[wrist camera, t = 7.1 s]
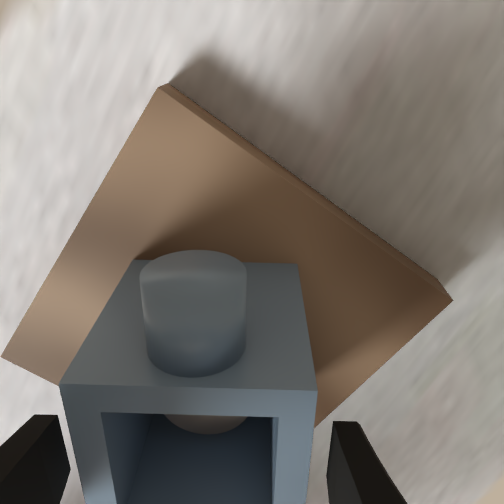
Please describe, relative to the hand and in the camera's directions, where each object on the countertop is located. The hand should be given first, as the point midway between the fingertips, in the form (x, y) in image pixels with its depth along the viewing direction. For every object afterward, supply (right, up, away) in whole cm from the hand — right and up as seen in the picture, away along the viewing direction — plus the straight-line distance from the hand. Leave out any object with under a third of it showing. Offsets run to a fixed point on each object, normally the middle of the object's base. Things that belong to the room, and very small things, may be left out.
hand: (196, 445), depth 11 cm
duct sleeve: (0, +2, +5) cm, 5 cm away
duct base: (0, +3, +6) cm, 7 cm away
